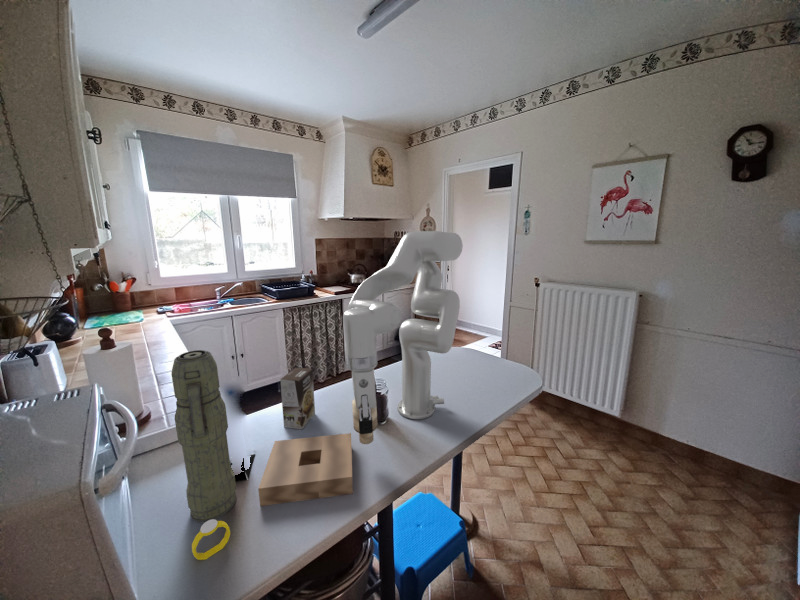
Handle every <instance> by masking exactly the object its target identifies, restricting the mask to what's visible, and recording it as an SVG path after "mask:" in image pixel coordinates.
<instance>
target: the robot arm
mask: <svg viewBox="0 0 800 600" xmlns="http://www.w3.org/2000/svg"><path fill="white" fill-rule="evenodd" d="M462 251H463V240H462V238H461V236H460V235H459V234H458V233H457V232H447V231H439V230H431V231H430V230H428V231H427V230H426V231H425V230H416V231H409V232H407V233H405V234H403V236H402V237H401V239H400V241H398V245H397V246H396V248H395V249H394V252H393V253H392V255H391V256H390V259H389V261H387V262H388V263H387V264H386V266H385V267H383V268H380V269H379V270H377V271H376V272H374V273H373V274H372V275H371V276H369V277H368V278H366V279H364V280H363V281H362V282H361V283H360V285H358V287H357V289H356V290H355V292H354V293H353V295H352V297H351V299H350V301H349V303H348V305H347V308H346V310H345V312H344V313H343V315H342V325H343V327H342V328H343V340H344V354H345V366H346V369H347V370H349V371H351V378H352V390H353V397H354V399H355V404H356V409H357V410H359V414H360V419H359V431H360V434H368V433H372V432H373V433H374V431H373V425H372V417H371V408H376V405H377V396H376V395H377V394H376V378H375V368H376V367H377V366H378V350H377V349H378V348H377V344H378V343H377V336H380V335H382V334H387V333H391V332H393V331H394V330H395V329H397V327H398V326H399V325H400V327H399V330H398V336H399V342H400V347H401V358H402V359H401V361H402V363H401V364H402V365H401V368H402V370H401V373H402V374H401V376H402V378H401V379H402V380H401V382H402V383H401V384H402V385H401V398H402V399H401V400H400V401H399V402H398V403H397V412H398V413H399V414H400V415H401V416H403V417H405V418H407V419H411V420H423V419H427V418H430V417H431V416H433V414H434V413H435V409H436V407H435V406H436V405H444V404H445V399H444V397H442V398H441V397H440V398H439V395H434V396H433V395H431V384H432V381H431V380H432V376H431V375H432V359H431V356H430V354H429V352H431V353H436V354H447V353H449V352H450V350H451V349H452V347H453V343H454V339H455V334H456V329H457V324H458V318H459V313H460V307H461V306H460V304H461V303H460V302H461V301H460V297H459V294H458V293H457V292H456V291H455V290H451V289H445V288H442V287H441V286H442V281H443V273H442V271H441V268H440V267H439V265H438V264H437V263H436V262H450V261H451V262H452V261H455V260H457V259H459V257H460V256H461V255H462ZM415 278H416V279H415ZM414 279H415V284H414V288H413V293H412V297H411V302H410V309H411V312H412V313H414V314H415V315H417V316H422V317H427V318H433V319H439V321H435V320H433V321H432V320H427V319H420V318H408V319H405V320H404V321H403V322H402V323H401V321H402V310H401V309H400V307H399V306H398V305H397V304H395V303H393V302H388V301H380V300H376V298H379V297H380V296H382V295H383V294H385V293H388V292H392V291H395V290H399V289H401V288H404V287H406V286H408V285H409V286H410V284H412V283H413V282H414ZM400 323H401V324H400ZM368 404H369V406H368ZM360 405H362V407H360ZM370 406H371V407H370ZM361 410H363V414H362V412H361ZM368 411H369V413H368Z"/></svg>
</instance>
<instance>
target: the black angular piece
mask: <svg viewBox="0 0 800 600" xmlns="http://www.w3.org/2000/svg"><path fill="white" fill-rule="evenodd" d="M250 455H251V457H250V463H251V464H250V467H249V469H247V470H245V468H244V458H243V462H242V465H241V467H242V466H243V467H242V468H241V470H242V471H244V472H241V473H240V474H238V475H235V483H238V482H245V481H249V479H250V475H251V472H252V469H253V465H254V462H255V457H256V454H250Z"/></svg>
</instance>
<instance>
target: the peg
mask: <svg viewBox="0 0 800 600" xmlns="http://www.w3.org/2000/svg"><path fill="white" fill-rule="evenodd" d="M351 406H352V420H353V429H354V431H355V432H356V433H358V437H359V438H358V440H359V443H360V444H362V445H369V444H371V443H373V441H374V431H376V429H377V428H378V423H379V422H378V411H377V404H376V408H371V417H372V425H373V432H372V433H368V434H360V431H359V419H360V414H359V410H357V409H356V404H355V398H354V399H352V401H351ZM368 406H369V404H368ZM360 407H362V405H360ZM370 407H371V406H370ZM361 412H362V414H363V410H361ZM368 413H369V411H368Z"/></svg>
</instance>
